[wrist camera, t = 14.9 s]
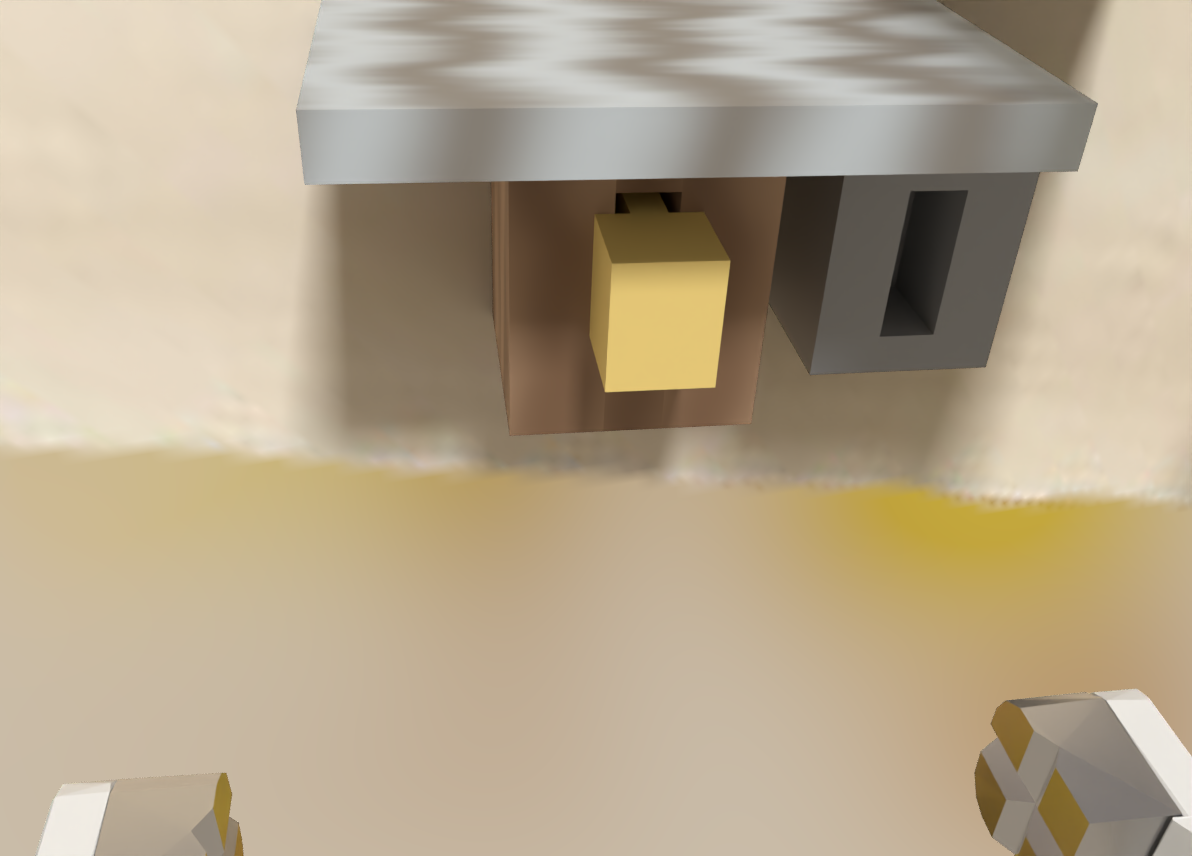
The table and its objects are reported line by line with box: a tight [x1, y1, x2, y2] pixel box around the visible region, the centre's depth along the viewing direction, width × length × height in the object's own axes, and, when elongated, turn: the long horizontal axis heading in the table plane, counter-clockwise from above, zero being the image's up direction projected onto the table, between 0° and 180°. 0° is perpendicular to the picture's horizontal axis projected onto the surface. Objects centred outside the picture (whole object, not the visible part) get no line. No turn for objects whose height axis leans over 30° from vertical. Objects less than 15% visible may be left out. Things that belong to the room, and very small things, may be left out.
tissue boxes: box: [296, 0, 1098, 436], centre depth 42 cm, size 22×16×18 cm
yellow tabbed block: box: [589, 192, 730, 392], centre depth 41 cm, size 4×5×8 cm
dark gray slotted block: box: [769, 172, 1040, 375], centre depth 48 cm, size 8×10×8 cm
